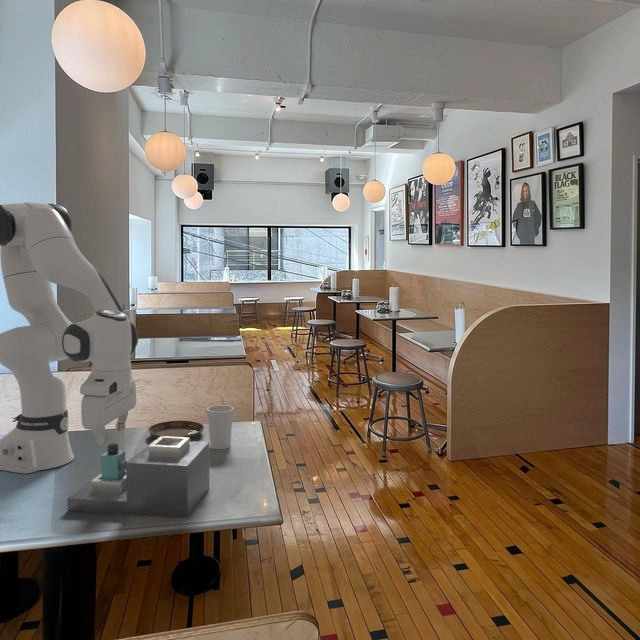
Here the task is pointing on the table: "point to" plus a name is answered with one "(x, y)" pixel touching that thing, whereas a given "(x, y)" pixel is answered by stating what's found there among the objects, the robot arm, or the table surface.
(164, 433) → the plant saucer
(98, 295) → the robot arm
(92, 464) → the table surface
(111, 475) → the plug
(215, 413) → the cup
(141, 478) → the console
